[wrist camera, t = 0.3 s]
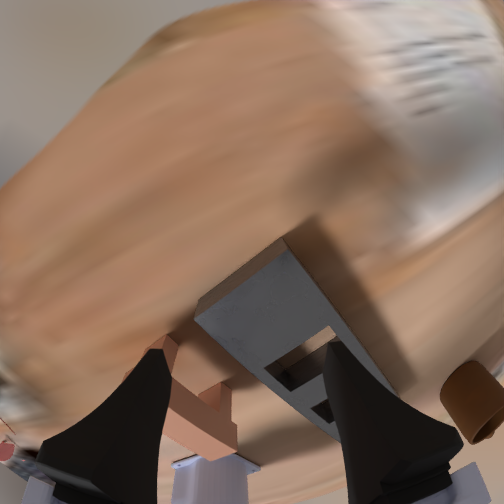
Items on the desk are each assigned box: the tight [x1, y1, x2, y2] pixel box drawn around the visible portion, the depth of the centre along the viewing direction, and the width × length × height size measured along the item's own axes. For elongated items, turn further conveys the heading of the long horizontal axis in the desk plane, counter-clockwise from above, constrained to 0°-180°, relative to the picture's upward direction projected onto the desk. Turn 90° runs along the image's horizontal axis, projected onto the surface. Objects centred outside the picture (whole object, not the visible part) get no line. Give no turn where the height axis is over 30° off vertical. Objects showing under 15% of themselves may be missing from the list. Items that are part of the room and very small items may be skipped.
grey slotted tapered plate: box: [194, 237, 400, 443], centre depth 23 cm, size 8×24×3 cm, turn 38°
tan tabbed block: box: [122, 334, 238, 461], centre depth 21 cm, size 3×10×7 cm, turn 39°
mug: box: [440, 361, 504, 445], centre depth 24 cm, size 12×8×9 cm, turn 38°
